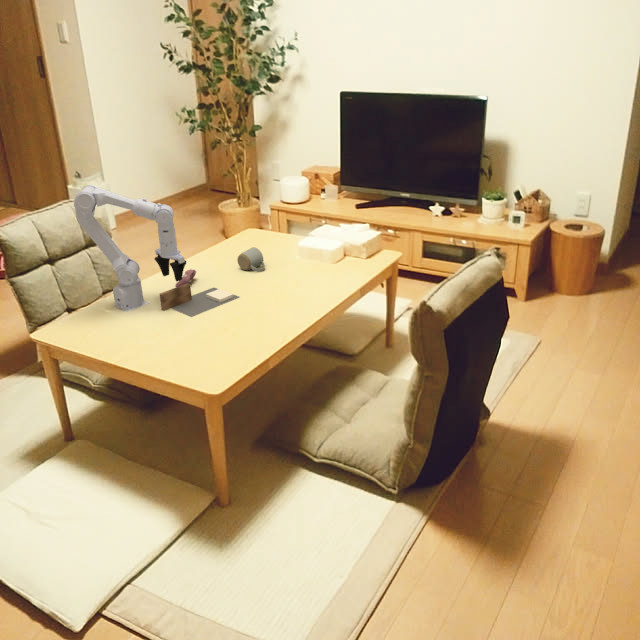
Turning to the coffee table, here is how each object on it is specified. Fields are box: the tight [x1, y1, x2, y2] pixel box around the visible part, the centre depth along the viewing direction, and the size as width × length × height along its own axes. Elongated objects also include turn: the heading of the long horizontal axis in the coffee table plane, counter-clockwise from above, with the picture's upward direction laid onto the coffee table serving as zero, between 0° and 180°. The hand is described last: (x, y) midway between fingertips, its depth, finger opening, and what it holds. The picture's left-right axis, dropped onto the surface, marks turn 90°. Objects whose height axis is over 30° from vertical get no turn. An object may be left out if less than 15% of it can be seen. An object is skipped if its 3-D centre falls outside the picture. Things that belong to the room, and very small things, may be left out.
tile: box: [206, 288, 234, 303], centre depth 240 cm, size 1×8×6 cm
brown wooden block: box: [159, 283, 192, 312], centre depth 234 cm, size 12×2×6 cm, turn 138°
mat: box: [170, 287, 241, 318], centre depth 237 cm, size 22×15×1 cm
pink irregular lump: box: [175, 268, 197, 288], centre depth 253 cm, size 10×5×7 cm, turn 170°
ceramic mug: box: [237, 247, 266, 273], centre depth 266 cm, size 11×8×8 cm
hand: (172, 277), depth 235 cm, fingers open, 7 cm apart
